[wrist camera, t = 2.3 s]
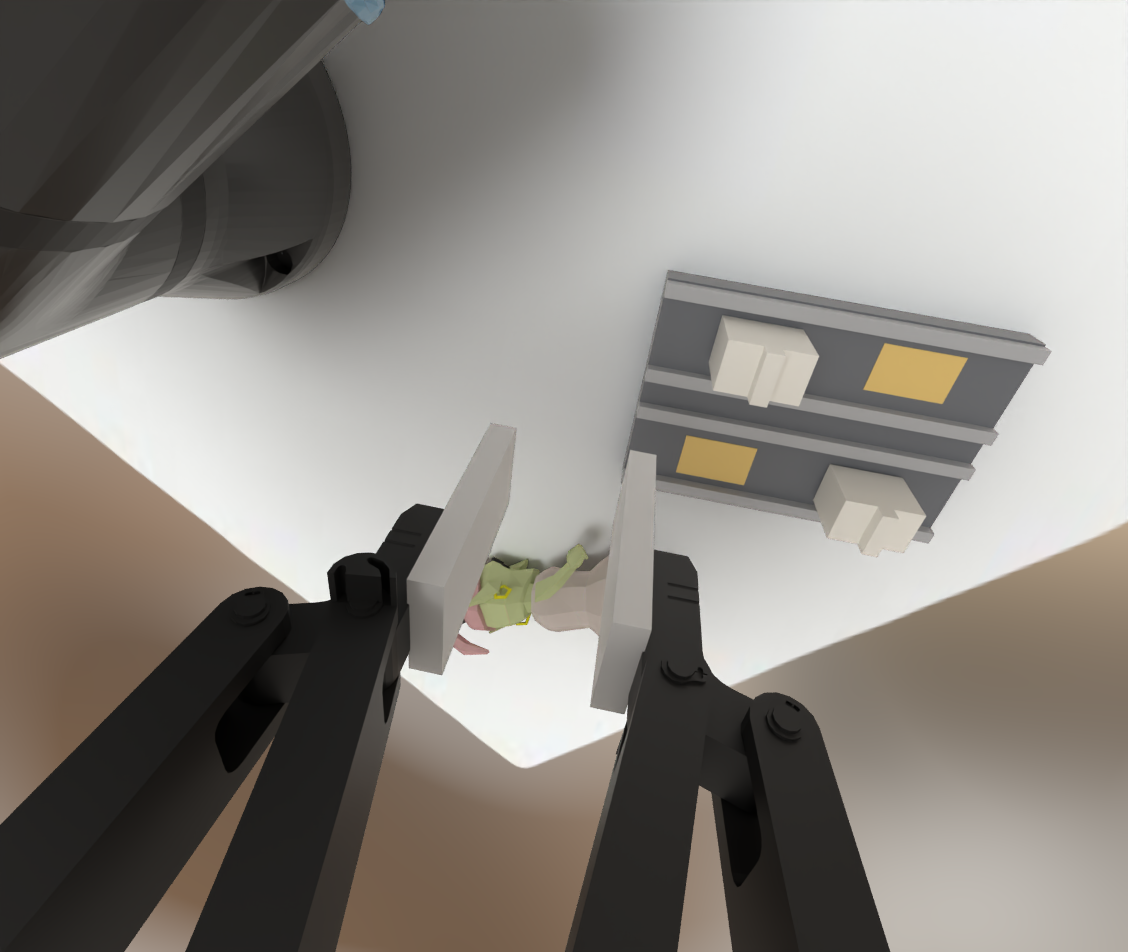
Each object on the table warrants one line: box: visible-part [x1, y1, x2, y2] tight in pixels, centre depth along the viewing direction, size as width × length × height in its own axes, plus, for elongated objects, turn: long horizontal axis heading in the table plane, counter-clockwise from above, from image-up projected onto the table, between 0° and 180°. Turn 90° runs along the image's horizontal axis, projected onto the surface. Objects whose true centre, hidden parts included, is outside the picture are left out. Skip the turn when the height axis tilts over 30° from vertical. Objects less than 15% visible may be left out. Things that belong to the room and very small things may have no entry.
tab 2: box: [813, 464, 926, 557], centre depth 31 cm, size 4×2×4 cm, turn 82°
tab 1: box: [709, 315, 819, 408], centre depth 27 cm, size 4×2×4 cm, turn 82°
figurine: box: [453, 544, 609, 655], centre depth 39 cm, size 9×7×15 cm
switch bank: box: [621, 270, 1052, 543], centre depth 31 cm, size 18×12×2 cm, turn 82°
